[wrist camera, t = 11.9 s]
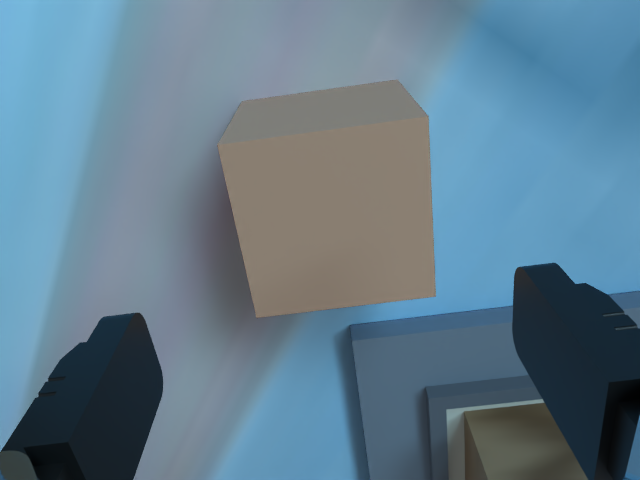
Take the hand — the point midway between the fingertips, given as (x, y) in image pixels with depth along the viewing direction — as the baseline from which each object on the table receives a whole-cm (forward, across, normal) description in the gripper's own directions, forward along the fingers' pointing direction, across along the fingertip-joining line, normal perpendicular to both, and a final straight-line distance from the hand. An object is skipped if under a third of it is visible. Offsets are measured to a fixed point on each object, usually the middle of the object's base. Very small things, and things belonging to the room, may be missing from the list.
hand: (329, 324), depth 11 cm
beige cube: (+11, 0, 0) cm, 11 cm away
